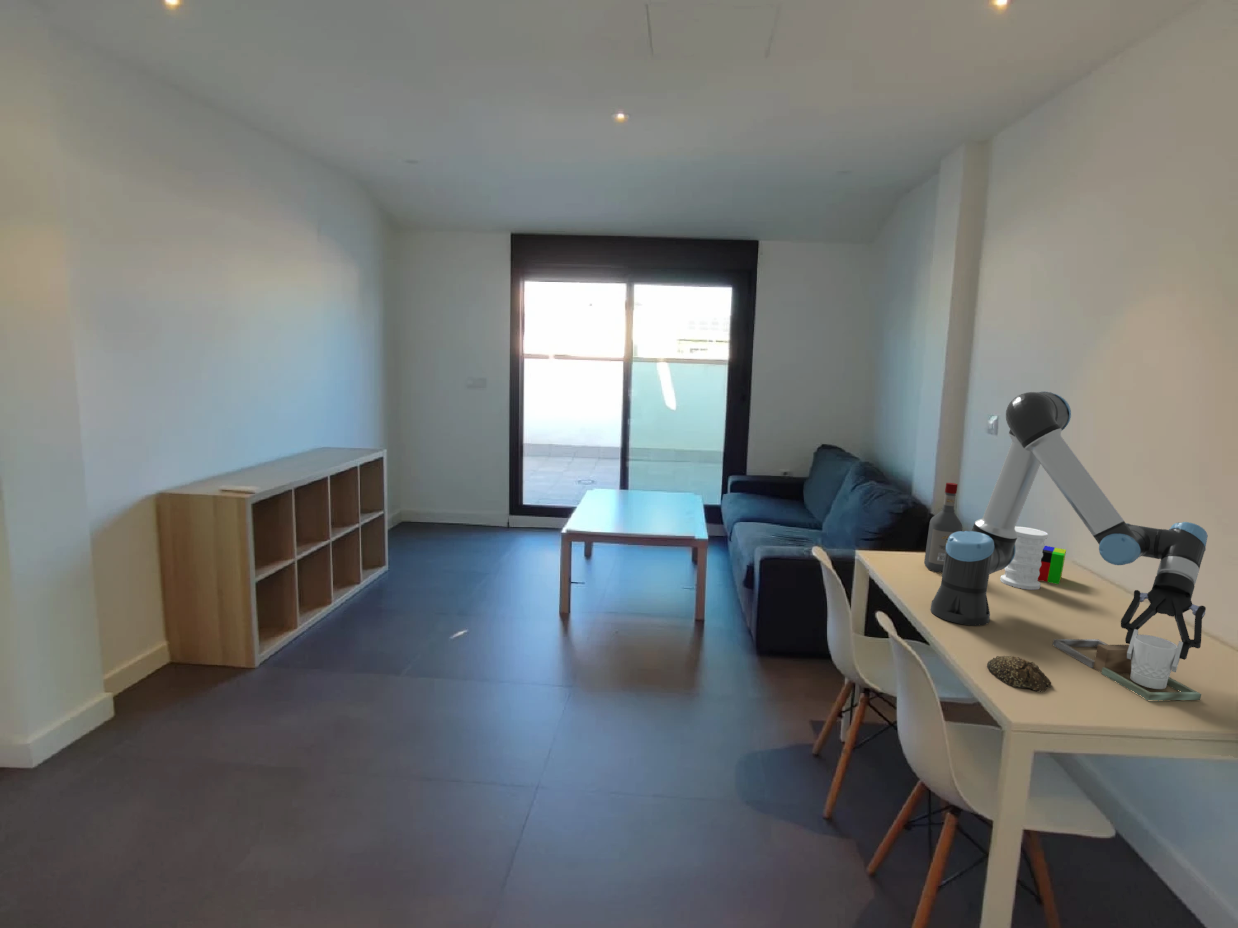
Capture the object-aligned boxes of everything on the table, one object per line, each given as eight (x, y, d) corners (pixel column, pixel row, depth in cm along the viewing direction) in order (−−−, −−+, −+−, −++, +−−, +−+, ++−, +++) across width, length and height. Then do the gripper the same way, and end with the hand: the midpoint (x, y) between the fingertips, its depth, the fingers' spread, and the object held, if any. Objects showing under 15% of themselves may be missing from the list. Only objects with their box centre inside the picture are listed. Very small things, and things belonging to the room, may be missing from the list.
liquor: (957, 574, 240) (970, 487, 235) (928, 571, 242) (941, 484, 237) (949, 566, 249) (962, 482, 244) (922, 563, 251) (934, 480, 246)
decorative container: (1048, 589, 231) (1057, 535, 228) (1020, 590, 228) (1029, 536, 225) (1019, 577, 242) (1028, 525, 239) (992, 578, 239) (1000, 526, 236)
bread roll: (980, 664, 171) (984, 644, 170) (1034, 669, 170) (1038, 650, 169) (1003, 689, 159) (1006, 668, 158) (1061, 695, 157) (1065, 674, 156)
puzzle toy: (1028, 570, 251) (1032, 543, 249) (1061, 577, 245) (1066, 549, 243) (1024, 577, 243) (1029, 549, 241) (1058, 584, 237) (1063, 555, 235)
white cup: (1169, 694, 158) (1177, 652, 156) (1126, 682, 163) (1133, 641, 161) (1169, 682, 164) (1177, 641, 163) (1127, 671, 169) (1135, 631, 167)
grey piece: (1148, 701, 157) (1153, 675, 156) (1052, 644, 185) (1056, 623, 184) (1200, 700, 158) (1205, 675, 157) (1097, 644, 187) (1101, 623, 186)
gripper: (1229, 601, 166) (1207, 686, 157) (1123, 576, 179) (1098, 654, 171) (1232, 583, 161) (1210, 671, 152) (1123, 560, 175) (1097, 639, 166)
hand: (1151, 662), depth 161 cm, fingers closed on white cup, 8 cm apart
